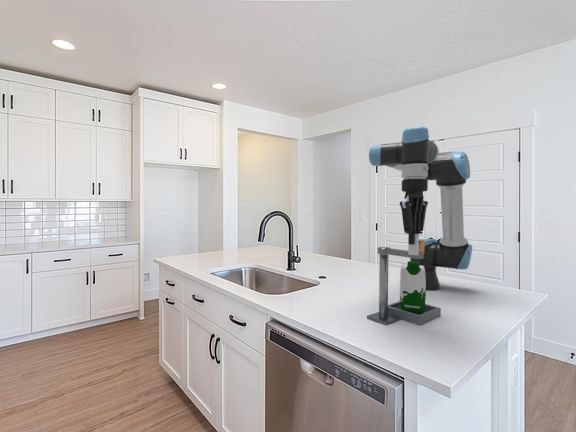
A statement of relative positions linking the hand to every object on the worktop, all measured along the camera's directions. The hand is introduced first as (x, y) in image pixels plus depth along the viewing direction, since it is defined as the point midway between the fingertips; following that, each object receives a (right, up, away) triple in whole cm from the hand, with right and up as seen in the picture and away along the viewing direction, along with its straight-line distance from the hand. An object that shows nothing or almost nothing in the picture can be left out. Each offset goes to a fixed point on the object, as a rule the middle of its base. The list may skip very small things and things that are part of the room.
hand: (413, 254), depth 100 cm
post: (-5, -25, +14) cm, 29 cm away
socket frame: (+7, -24, +18) cm, 31 cm away
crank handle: (-2, -1, +8) cm, 8 cm away
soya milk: (+7, -25, +18) cm, 31 cm away
